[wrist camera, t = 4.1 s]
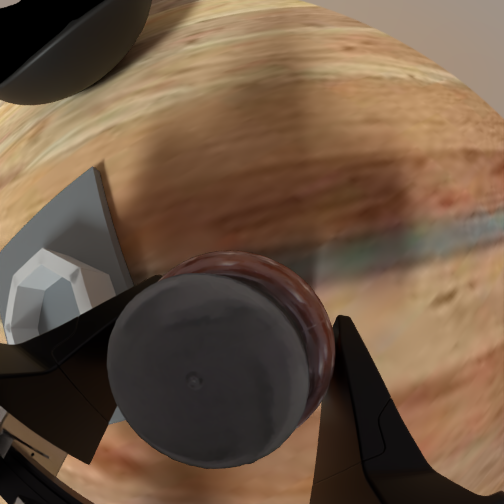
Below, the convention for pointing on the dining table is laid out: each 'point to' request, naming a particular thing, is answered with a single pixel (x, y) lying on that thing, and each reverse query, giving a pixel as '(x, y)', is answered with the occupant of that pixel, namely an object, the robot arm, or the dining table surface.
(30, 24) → the dark bowl with contents
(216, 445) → the supplement bottle
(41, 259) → the collar mount
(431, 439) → the dining table surface
